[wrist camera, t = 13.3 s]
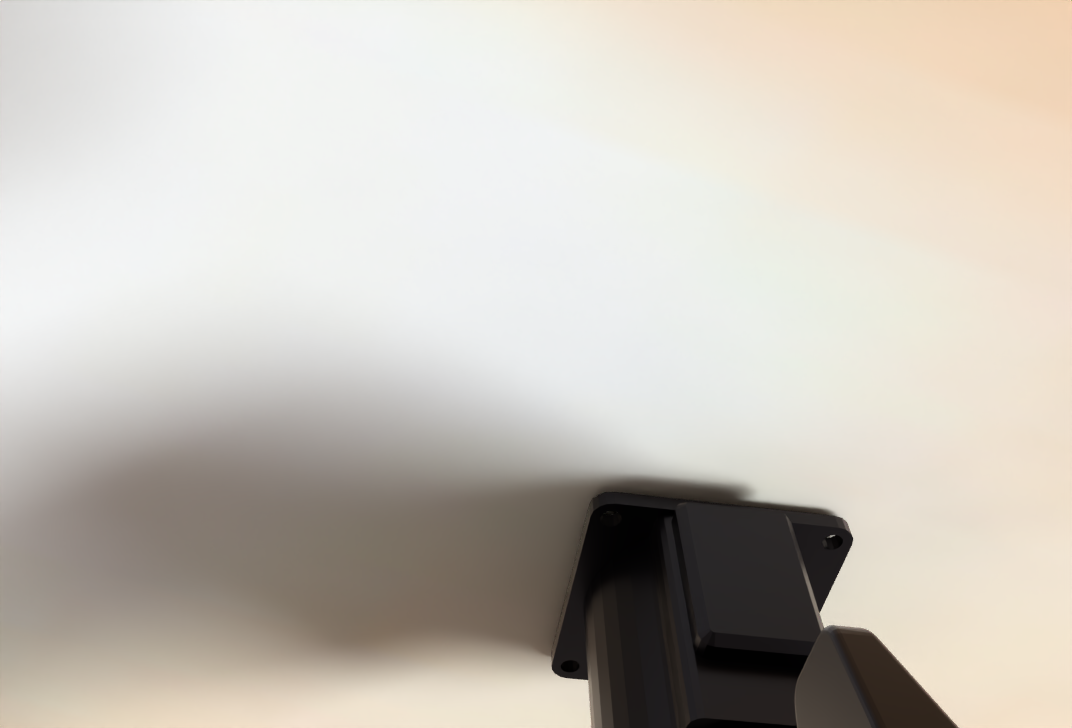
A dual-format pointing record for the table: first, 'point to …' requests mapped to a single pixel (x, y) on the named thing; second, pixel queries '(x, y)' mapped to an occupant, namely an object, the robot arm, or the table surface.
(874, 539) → the table surface
